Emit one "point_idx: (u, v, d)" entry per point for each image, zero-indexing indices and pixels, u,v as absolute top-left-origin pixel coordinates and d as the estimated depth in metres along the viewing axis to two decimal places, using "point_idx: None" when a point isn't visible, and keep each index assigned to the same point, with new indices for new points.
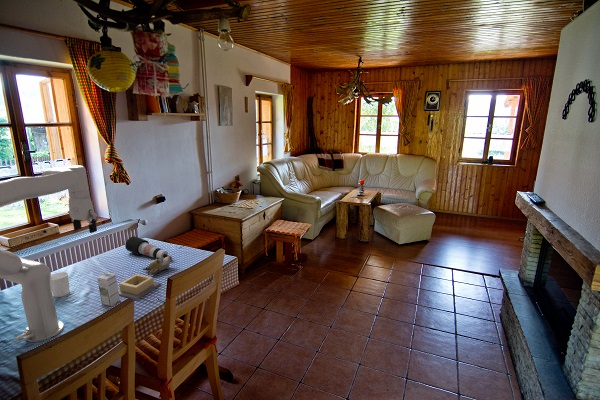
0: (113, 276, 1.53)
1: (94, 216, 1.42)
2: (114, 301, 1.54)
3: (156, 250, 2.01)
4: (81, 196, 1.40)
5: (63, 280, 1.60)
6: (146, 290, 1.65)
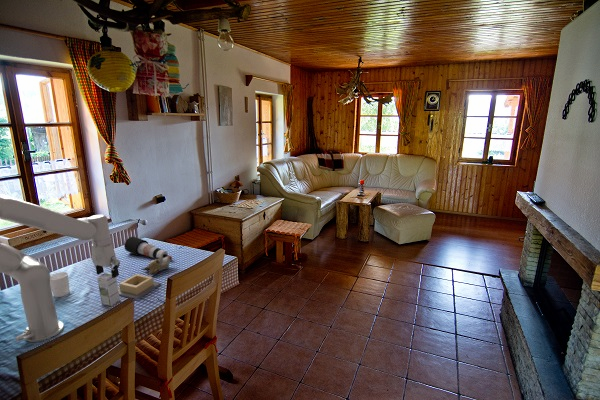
0: None
1: (116, 263, 1.48)
2: (114, 301, 1.54)
3: (156, 250, 2.01)
4: (104, 244, 1.46)
5: (63, 280, 1.60)
6: (146, 290, 1.65)
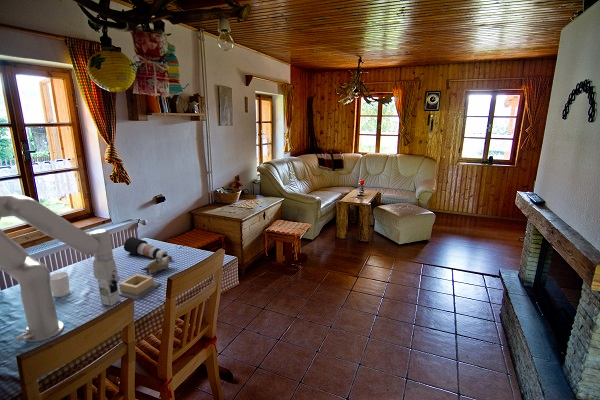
0: None
1: (116, 279, 1.50)
2: (114, 301, 1.55)
3: (156, 250, 2.01)
4: (105, 259, 1.47)
5: (63, 280, 1.60)
6: (146, 290, 1.65)
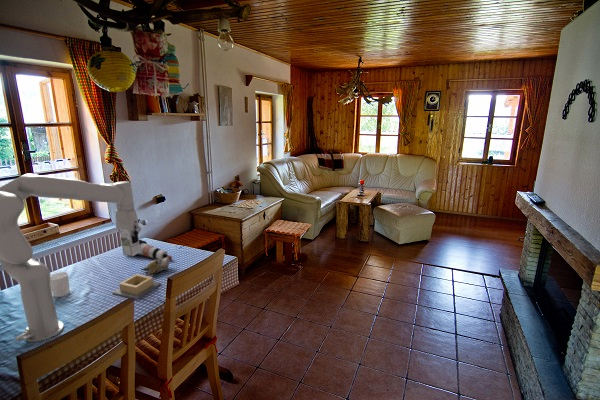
0: None
1: (138, 229, 1.56)
2: (135, 252, 1.61)
3: (156, 250, 2.01)
4: (128, 209, 1.54)
5: (63, 280, 1.60)
6: (146, 290, 1.65)
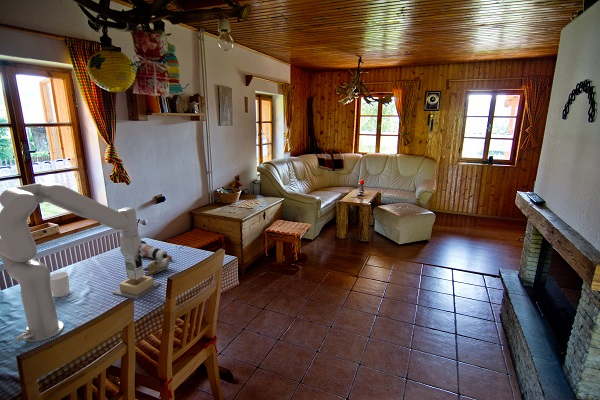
0: None
1: (142, 254, 1.60)
2: (139, 275, 1.65)
3: (155, 250, 2.01)
4: (132, 235, 1.58)
5: (63, 280, 1.60)
6: (146, 290, 1.65)
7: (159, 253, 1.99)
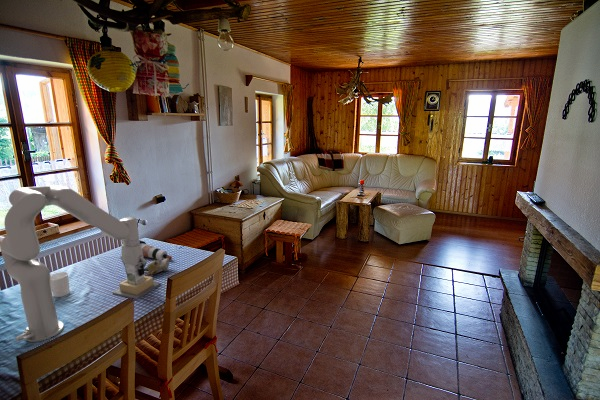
0: None
1: (144, 262, 1.61)
2: None
3: (155, 250, 2.01)
4: (133, 244, 1.59)
5: (63, 280, 1.60)
6: (146, 290, 1.65)
7: (159, 253, 1.99)
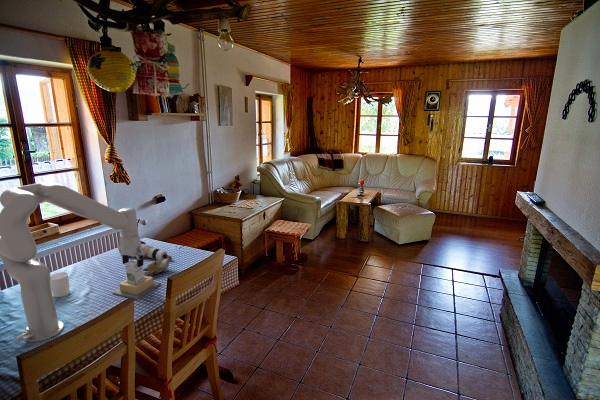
0: None
1: (142, 252, 1.59)
2: None
3: (155, 251, 2.01)
4: (132, 235, 1.58)
5: (63, 280, 1.60)
6: (146, 290, 1.65)
7: (159, 253, 1.99)
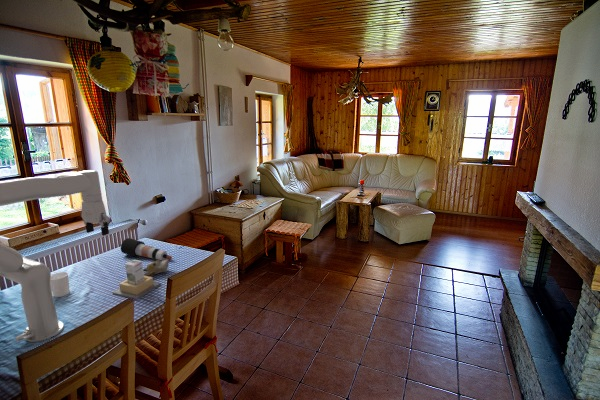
0: (139, 263, 1.64)
1: (106, 219, 1.45)
2: None
3: (155, 251, 2.00)
4: (94, 200, 1.44)
5: (63, 280, 1.60)
6: (146, 290, 1.65)
7: (159, 253, 1.99)
